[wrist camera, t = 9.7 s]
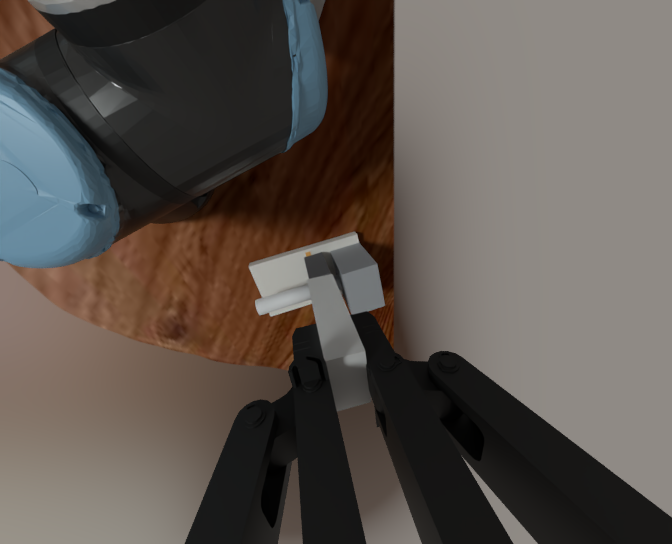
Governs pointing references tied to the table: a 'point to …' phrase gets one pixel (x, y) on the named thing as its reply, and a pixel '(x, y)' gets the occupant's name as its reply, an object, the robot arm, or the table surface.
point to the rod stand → (291, 277)
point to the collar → (316, 265)
